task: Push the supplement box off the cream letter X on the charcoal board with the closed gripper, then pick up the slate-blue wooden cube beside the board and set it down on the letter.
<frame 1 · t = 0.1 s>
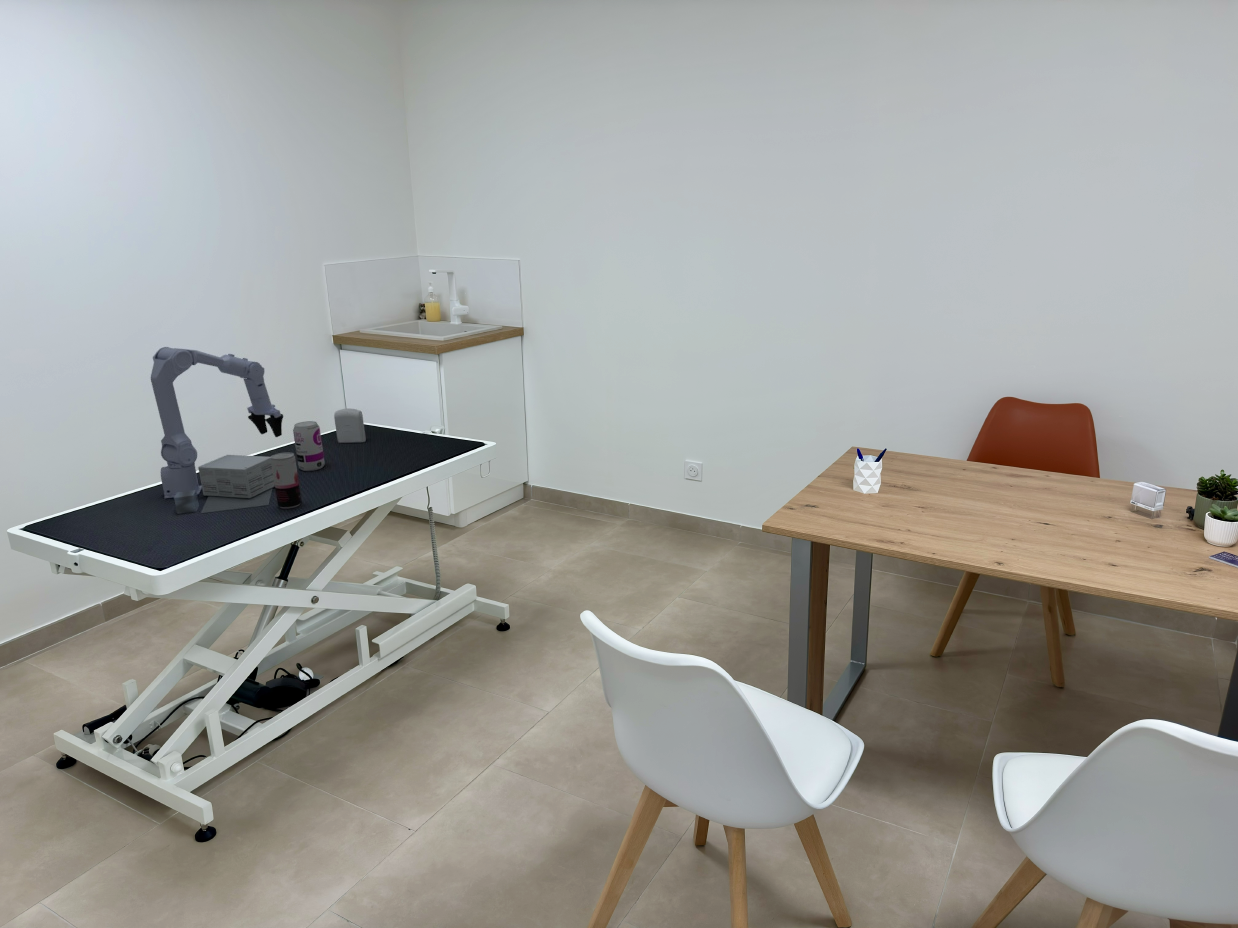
hand: (271, 434, 280), 11 cm above the table, tool pointing down, fingers open, 7 cm apart
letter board: (239, 497, 252), on the table
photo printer: (351, 442, 308), on the table
supplement box: (241, 490, 257), resting on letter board
slate cube: (188, 510, 243), on the table
supplement can: (312, 468, 279), on the table
beverage can: (290, 505, 244), on the table
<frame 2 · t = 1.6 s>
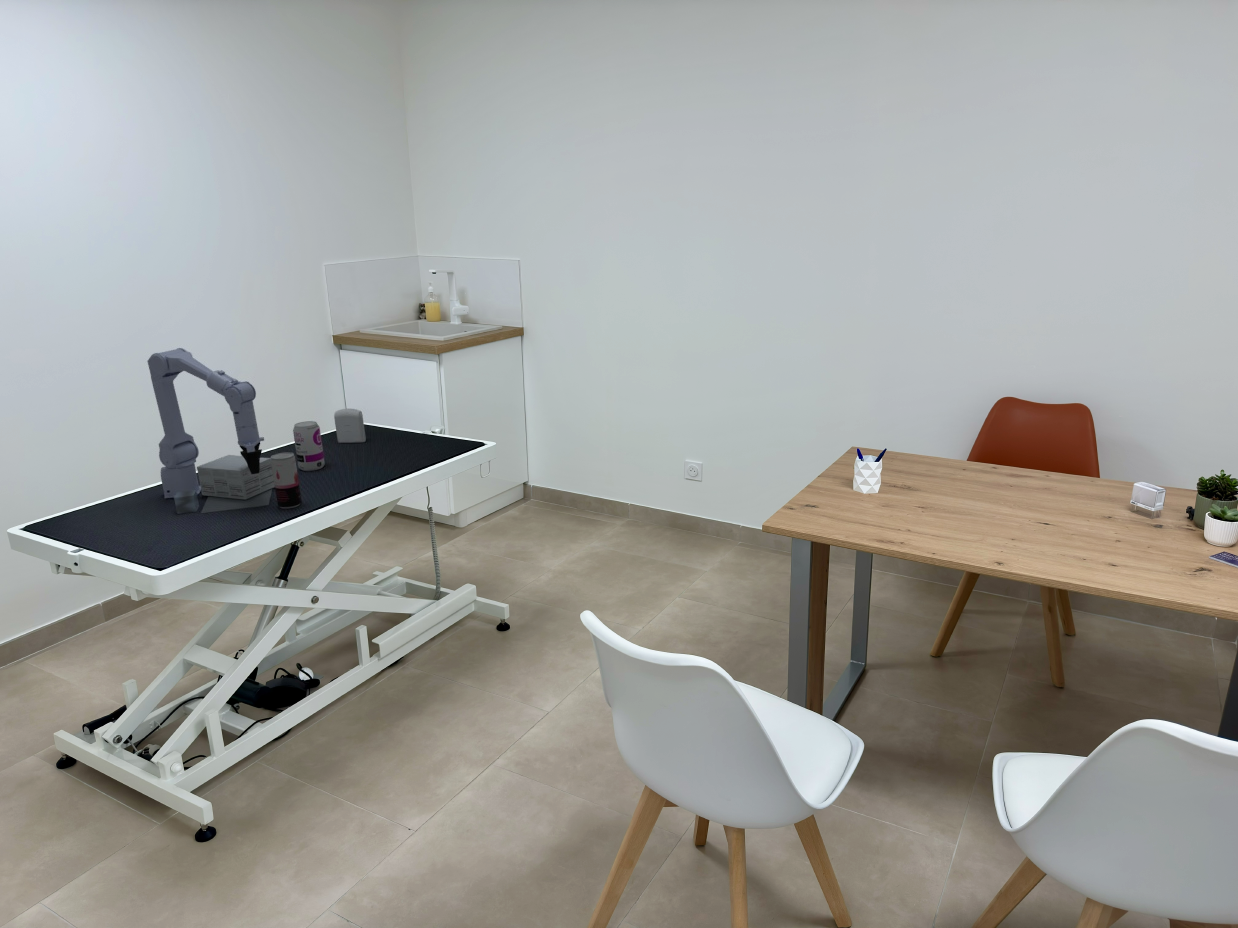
hand: (254, 470, 245), 10 cm above the table, tool pointing down, fingers open, 7 cm apart
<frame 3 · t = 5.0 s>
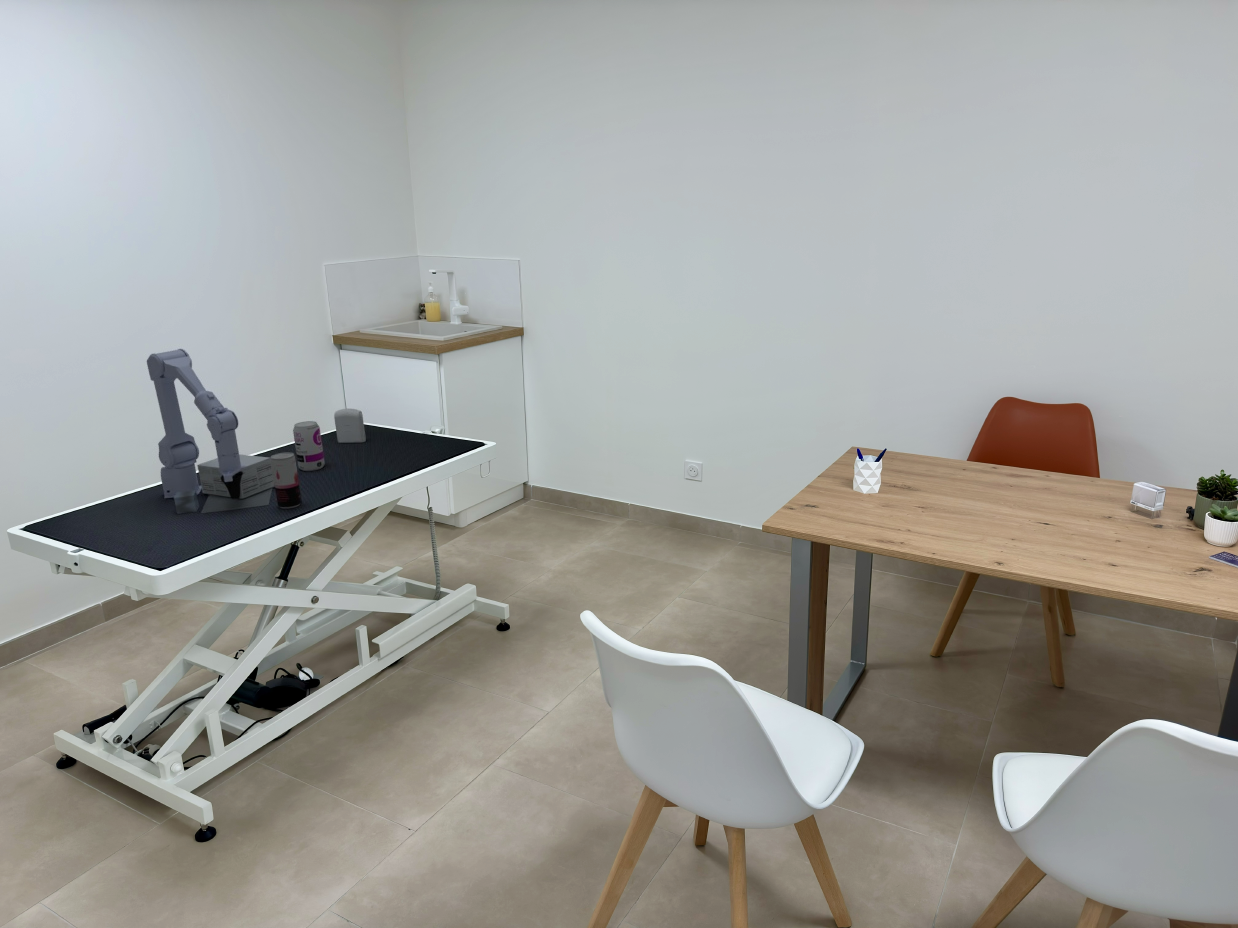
hand: (235, 497, 246), 2 cm above the table, tool pointing down, fingers closed
supplement box: (239, 490, 258), resting on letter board, touching gripper
everything else where it was.
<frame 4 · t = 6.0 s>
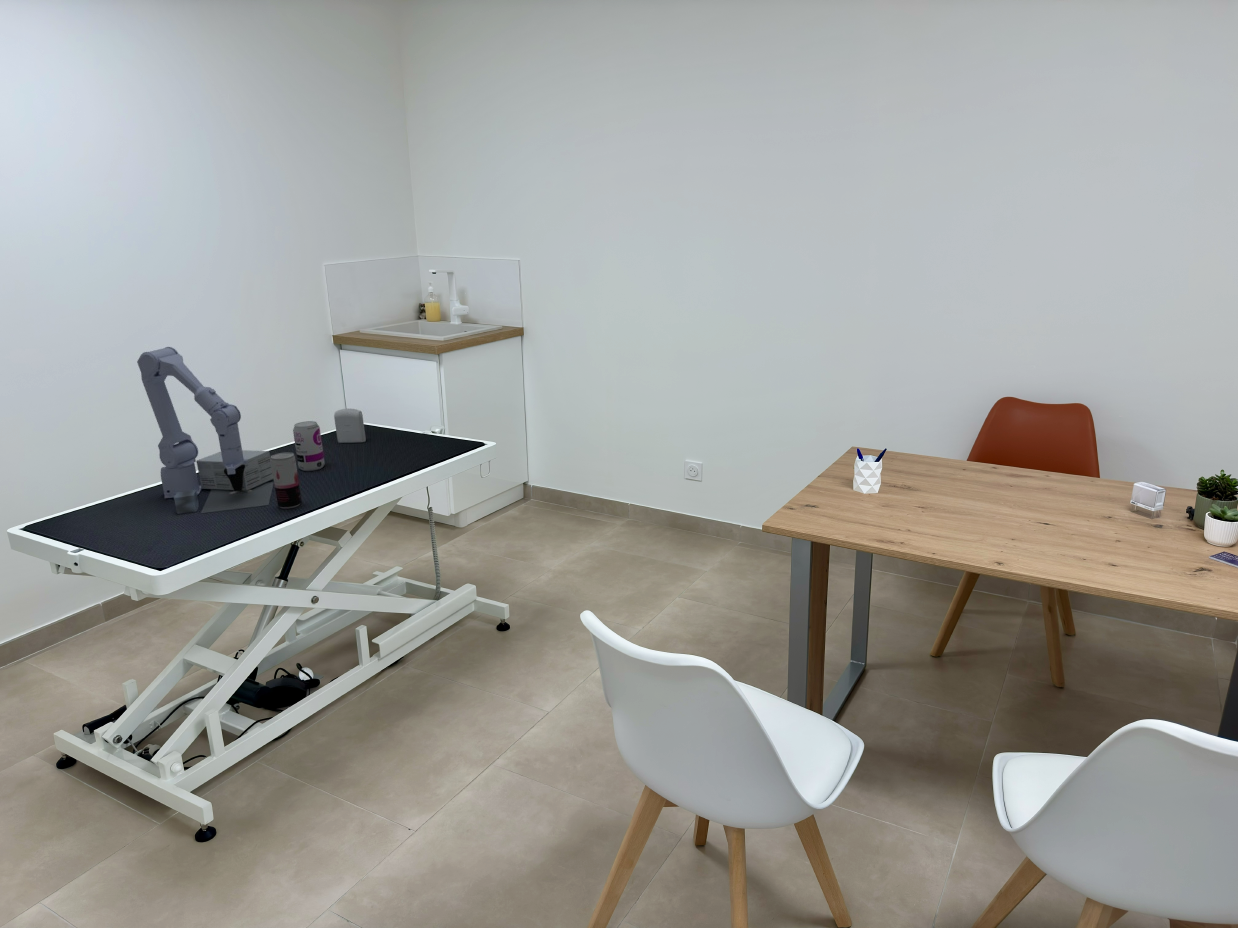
hand: (238, 490, 252), 2 cm above the table, tool pointing down, fingers closed
supplement box: (238, 484, 264), on the table, touching arm, gripper
everything else where it was.
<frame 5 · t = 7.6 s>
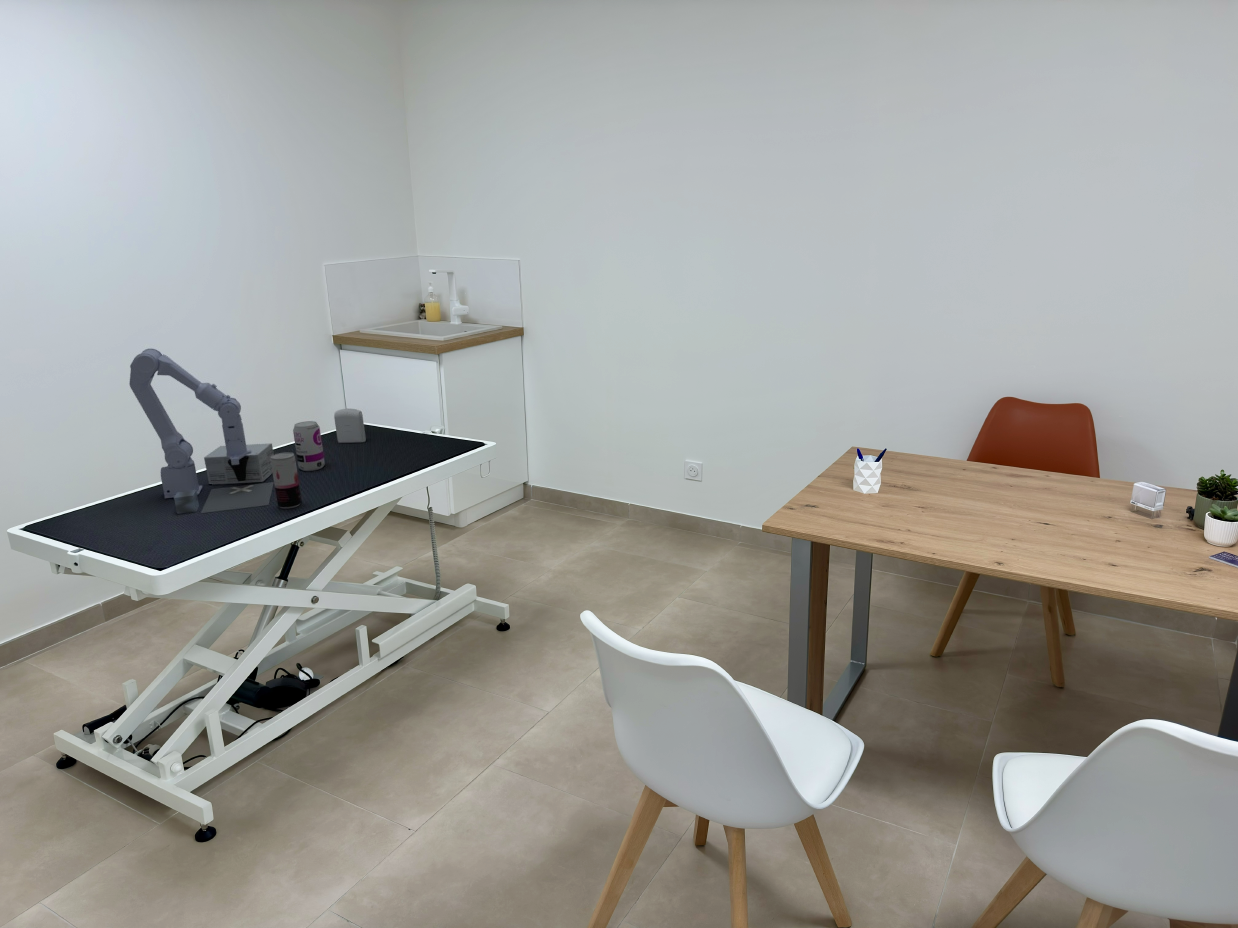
hand: (242, 480, 261), 2 cm above the table, tool pointing down, fingers closed
supplement box: (243, 477, 271), on the table, touching gripper
everything else where it was.
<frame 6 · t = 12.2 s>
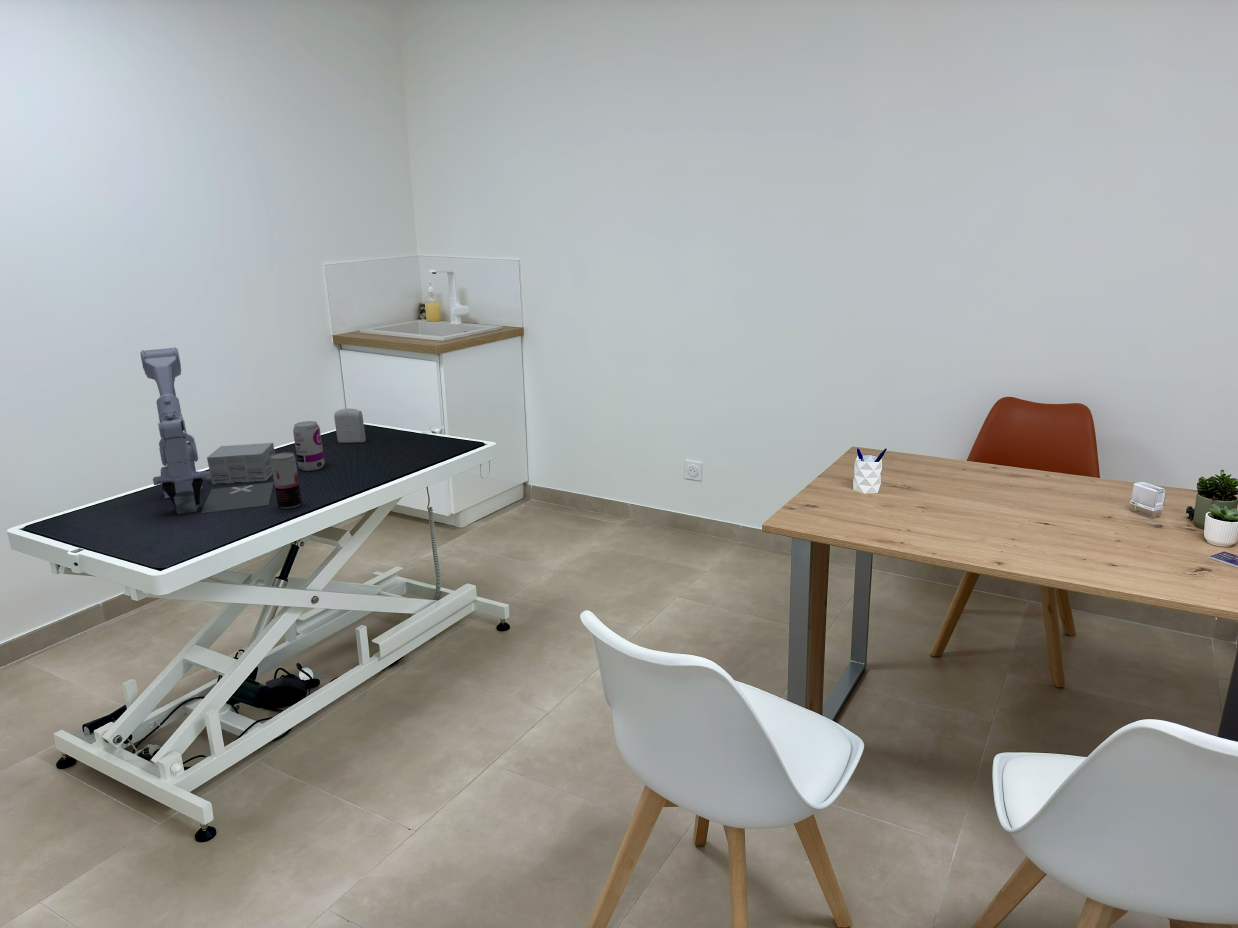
hand: (187, 505, 242), 1 cm above the table, tool pointing down, fingers closed on slate cube, 5 cm apart
supplement box: (245, 477, 272), on the table
slate cube: (188, 509, 243), on the table, touching gripper
everything else where it was.
when the fingers open (3 cm above the table, at t = 16.1 s): slate cube drops 1 cm, resting on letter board.
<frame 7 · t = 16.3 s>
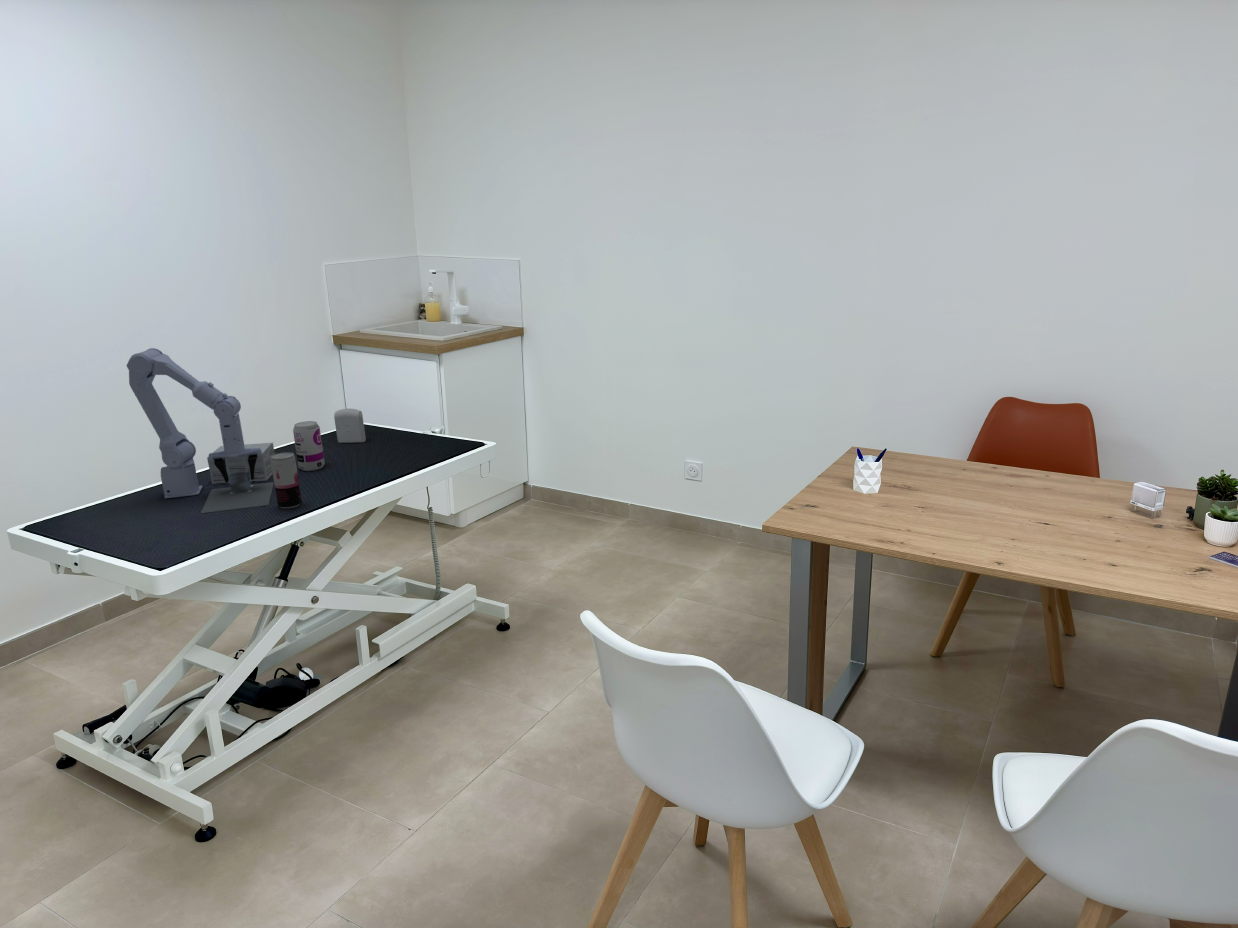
hand: (239, 480, 257), 3 cm above the table, tool pointing down, fingers open, 7 cm apart
slate cube: (241, 489, 258), resting on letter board
everything else where it was.
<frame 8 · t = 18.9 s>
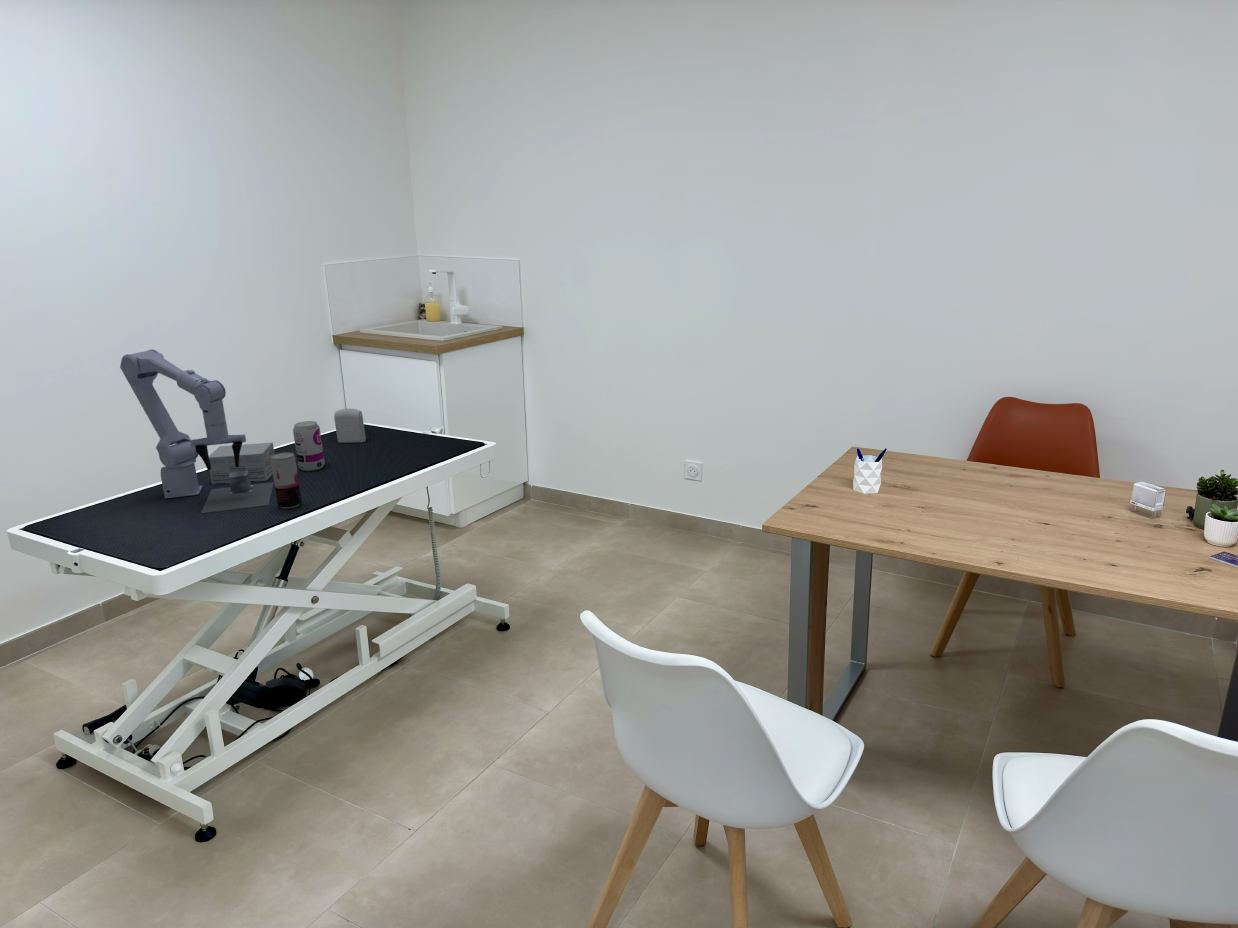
hand: (223, 467, 249), 9 cm above the table, tool pointing down, fingers open, 7 cm apart
nothing on the table moved.
at the end: slate cube 0.2 cm from the target spot, resting on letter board; slate cube tilted 0°; supplement box inside the target area (7.9 cm from its centre), on the table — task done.
